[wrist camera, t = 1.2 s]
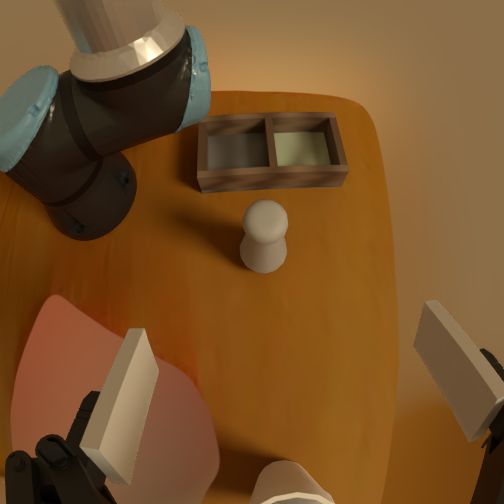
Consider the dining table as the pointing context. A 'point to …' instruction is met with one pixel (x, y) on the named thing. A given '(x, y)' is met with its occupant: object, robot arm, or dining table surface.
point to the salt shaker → (264, 236)
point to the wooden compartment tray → (270, 151)
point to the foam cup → (287, 486)
